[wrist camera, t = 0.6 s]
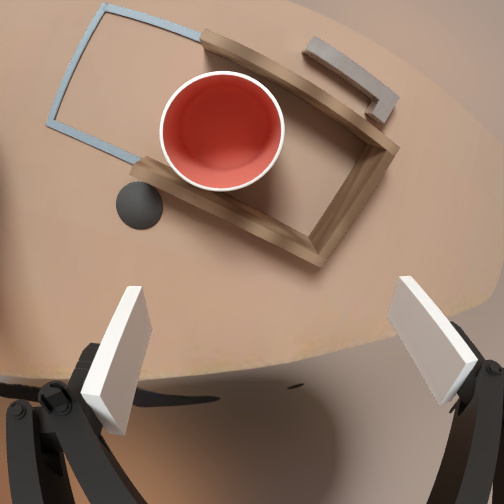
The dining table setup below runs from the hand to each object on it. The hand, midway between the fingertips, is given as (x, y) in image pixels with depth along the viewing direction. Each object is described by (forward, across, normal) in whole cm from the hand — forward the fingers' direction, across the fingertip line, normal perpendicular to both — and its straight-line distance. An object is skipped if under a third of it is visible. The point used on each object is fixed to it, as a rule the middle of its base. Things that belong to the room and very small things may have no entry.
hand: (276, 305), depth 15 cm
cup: (+22, -3, +7) cm, 24 cm away
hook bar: (+22, +11, +14) cm, 29 cm away
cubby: (+22, +2, +5) cm, 23 cm away
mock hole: (+22, -14, -2) cm, 26 cm away
